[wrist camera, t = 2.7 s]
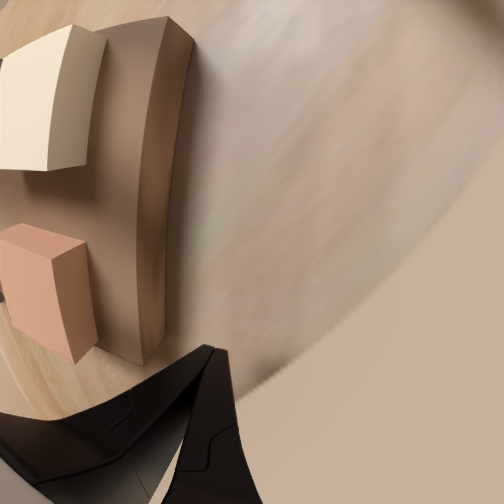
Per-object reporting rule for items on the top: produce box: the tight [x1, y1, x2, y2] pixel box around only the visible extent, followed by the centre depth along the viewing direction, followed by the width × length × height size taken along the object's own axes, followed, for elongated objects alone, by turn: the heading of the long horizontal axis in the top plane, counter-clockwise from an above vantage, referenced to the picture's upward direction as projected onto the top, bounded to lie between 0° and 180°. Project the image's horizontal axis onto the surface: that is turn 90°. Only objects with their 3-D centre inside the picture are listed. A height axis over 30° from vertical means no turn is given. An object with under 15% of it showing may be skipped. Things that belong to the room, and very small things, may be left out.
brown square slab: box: [0, 16, 194, 366], centre depth 11 cm, size 14×13×2 cm
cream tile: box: [0, 24, 107, 171], centre depth 7 cm, size 5×5×2 cm
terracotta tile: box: [0, 223, 98, 365], centre depth 10 cm, size 5×5×2 cm
